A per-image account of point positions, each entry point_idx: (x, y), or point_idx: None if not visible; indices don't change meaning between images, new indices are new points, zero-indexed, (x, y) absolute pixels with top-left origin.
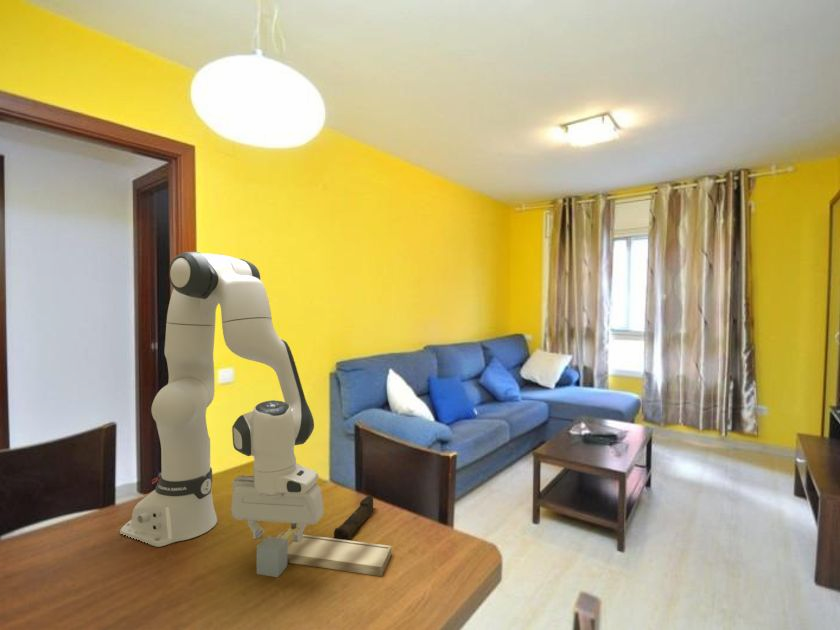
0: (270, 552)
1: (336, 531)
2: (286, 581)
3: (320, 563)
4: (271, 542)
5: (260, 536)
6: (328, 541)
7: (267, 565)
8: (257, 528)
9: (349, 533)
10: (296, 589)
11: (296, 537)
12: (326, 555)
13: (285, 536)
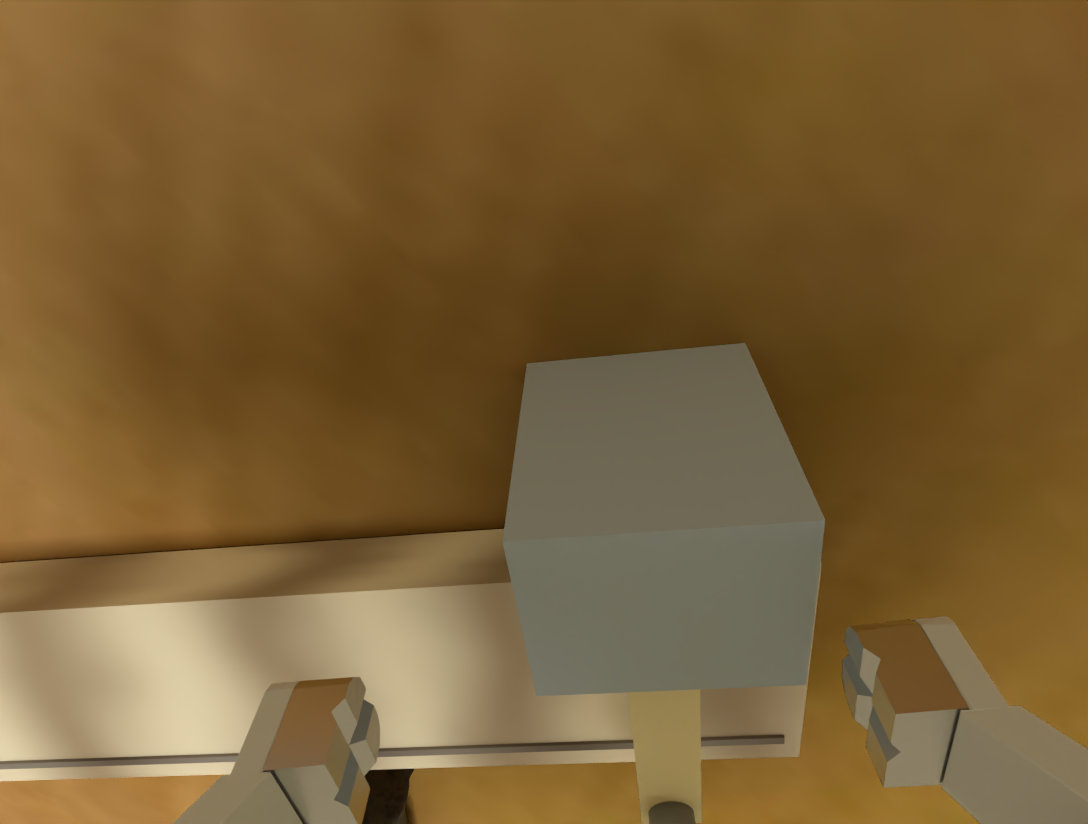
0: (607, 499)
1: (373, 822)
2: (415, 341)
3: (281, 565)
4: (680, 621)
5: (858, 663)
6: None
7: (636, 403)
8: (966, 768)
9: None
10: (255, 282)
11: (289, 734)
12: (253, 632)
13: (662, 723)
